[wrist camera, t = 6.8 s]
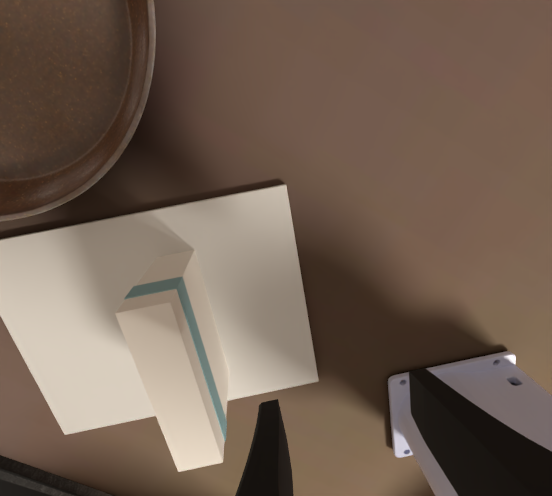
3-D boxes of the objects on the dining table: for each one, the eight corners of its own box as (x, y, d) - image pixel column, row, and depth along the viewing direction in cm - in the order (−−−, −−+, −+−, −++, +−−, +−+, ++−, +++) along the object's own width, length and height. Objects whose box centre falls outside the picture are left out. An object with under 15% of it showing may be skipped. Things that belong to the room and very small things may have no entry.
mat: (285, 184, 18) (286, 184, 18) (317, 377, 23) (318, 381, 23) (-31, 244, 18) (-37, 247, 17) (67, 429, 22) (64, 434, 22)
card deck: (195, 248, 19) (170, 300, 13) (230, 372, 22) (224, 462, 16) (156, 256, 19) (113, 312, 13) (196, 379, 22) (177, 472, 16)
